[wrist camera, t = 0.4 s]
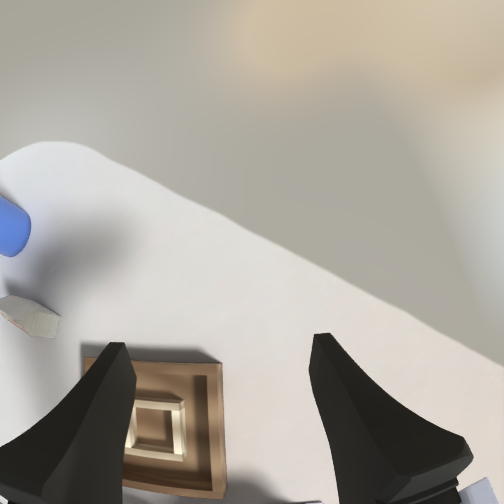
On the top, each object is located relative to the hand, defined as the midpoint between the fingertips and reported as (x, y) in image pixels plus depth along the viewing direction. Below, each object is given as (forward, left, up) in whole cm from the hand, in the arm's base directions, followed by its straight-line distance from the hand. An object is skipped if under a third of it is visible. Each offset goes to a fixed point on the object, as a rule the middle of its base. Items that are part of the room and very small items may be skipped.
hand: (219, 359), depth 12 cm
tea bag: (+3, +34, -30) cm, 45 cm away
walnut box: (-11, +14, -29) cm, 34 cm away
